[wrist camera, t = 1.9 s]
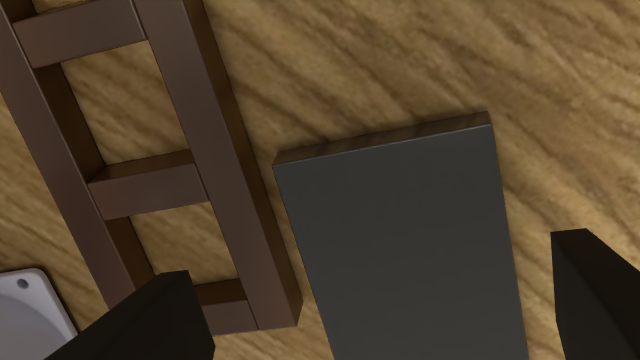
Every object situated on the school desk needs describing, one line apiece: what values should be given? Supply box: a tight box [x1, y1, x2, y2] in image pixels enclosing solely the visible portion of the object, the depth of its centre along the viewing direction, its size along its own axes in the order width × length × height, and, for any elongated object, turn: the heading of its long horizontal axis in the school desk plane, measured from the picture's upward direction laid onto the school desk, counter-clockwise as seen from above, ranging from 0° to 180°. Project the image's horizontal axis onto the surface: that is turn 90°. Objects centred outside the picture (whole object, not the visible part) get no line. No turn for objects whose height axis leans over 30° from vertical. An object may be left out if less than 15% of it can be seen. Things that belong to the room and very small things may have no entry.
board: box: [272, 111, 529, 360], centre depth 23 cm, size 8×12×1 cm, turn 15°
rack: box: [0, 0, 303, 337], centre depth 21 cm, size 8×20×2 cm, turn 15°
